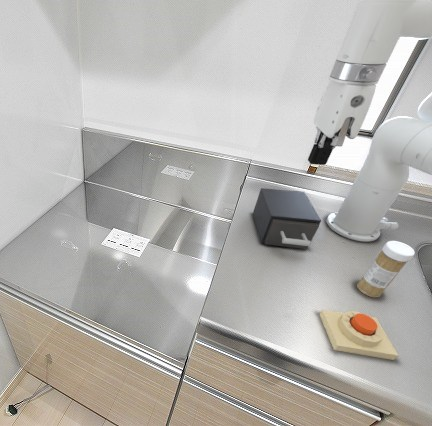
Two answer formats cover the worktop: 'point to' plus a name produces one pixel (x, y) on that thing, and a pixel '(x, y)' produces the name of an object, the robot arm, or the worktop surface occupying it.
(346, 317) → the control pad
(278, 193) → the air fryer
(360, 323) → the button
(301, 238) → the drawer
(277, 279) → the worktop surface
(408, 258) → the sprinkles bottle
